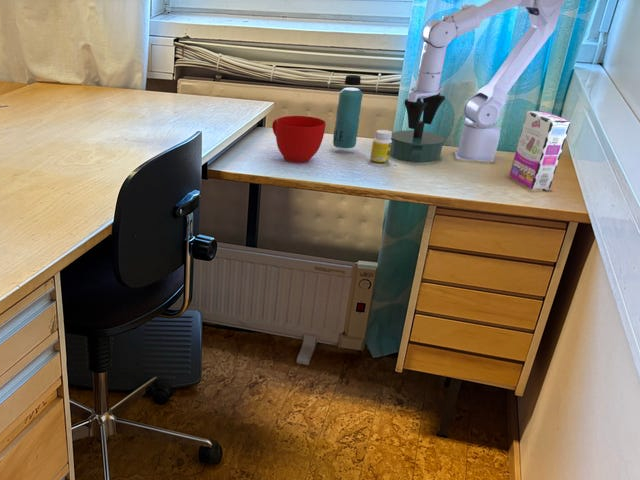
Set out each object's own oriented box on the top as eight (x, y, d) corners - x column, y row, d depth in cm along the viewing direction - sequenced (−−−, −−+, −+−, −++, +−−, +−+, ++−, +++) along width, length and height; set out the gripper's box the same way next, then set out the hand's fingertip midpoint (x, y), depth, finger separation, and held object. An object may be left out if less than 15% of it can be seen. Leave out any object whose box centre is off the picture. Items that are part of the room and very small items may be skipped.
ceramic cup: (288, 147, 201) (292, 110, 196) (331, 161, 189) (336, 123, 184) (253, 153, 195) (256, 116, 190) (295, 169, 183) (299, 129, 178)
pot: (437, 150, 199) (441, 132, 196) (440, 169, 184) (445, 150, 181) (388, 146, 202) (391, 128, 199) (387, 164, 187) (391, 145, 184)
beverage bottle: (358, 149, 199) (369, 74, 188) (350, 155, 194) (361, 78, 184) (336, 146, 202) (346, 72, 191) (327, 151, 197) (337, 76, 187)
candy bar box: (551, 191, 169) (572, 121, 160) (531, 191, 169) (551, 121, 160) (526, 176, 178) (545, 109, 170) (507, 177, 178) (525, 110, 169)
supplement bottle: (388, 166, 185) (394, 134, 181) (369, 165, 186) (375, 133, 182) (387, 161, 189) (392, 129, 185) (369, 160, 190) (374, 128, 186)
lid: (442, 136, 195) (446, 117, 192) (445, 150, 183) (449, 130, 180) (389, 132, 198) (392, 114, 195) (388, 145, 186) (392, 126, 184)
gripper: (429, 66, 188) (419, 118, 195) (401, 73, 179) (392, 127, 187) (454, 69, 184) (443, 123, 191) (427, 77, 175) (416, 132, 182)
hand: (419, 125), depth 188 cm, fingers open, 7 cm apart
